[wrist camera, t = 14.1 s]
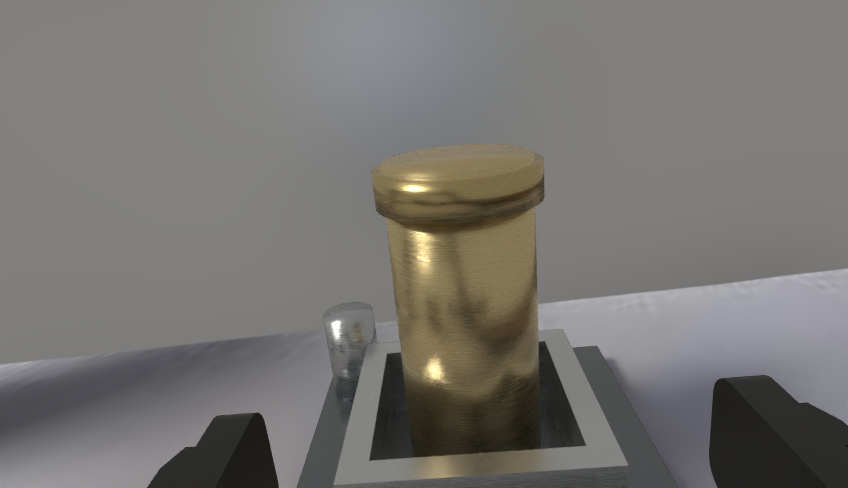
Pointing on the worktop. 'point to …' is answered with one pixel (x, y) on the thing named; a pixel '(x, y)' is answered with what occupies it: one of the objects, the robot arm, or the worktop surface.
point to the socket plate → (481, 472)
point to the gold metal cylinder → (466, 293)
